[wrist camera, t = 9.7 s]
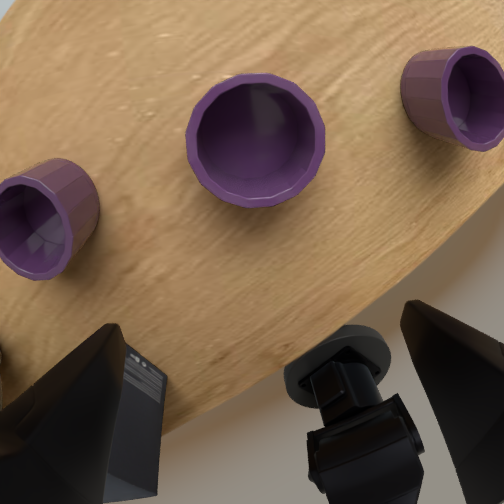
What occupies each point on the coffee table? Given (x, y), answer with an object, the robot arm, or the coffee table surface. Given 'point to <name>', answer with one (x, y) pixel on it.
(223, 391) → the coffee table surface
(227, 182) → the plum dish
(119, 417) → the small box
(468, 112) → the plum dish
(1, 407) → the planter bowl
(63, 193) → the plum dish
